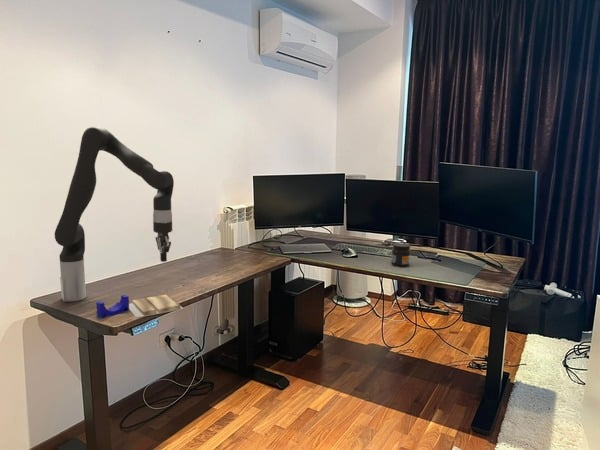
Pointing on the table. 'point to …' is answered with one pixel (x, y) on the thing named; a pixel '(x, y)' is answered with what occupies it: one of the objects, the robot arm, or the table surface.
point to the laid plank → (144, 306)
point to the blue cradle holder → (116, 309)
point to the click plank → (163, 303)
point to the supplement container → (401, 255)
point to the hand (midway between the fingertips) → (163, 261)
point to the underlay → (139, 314)
